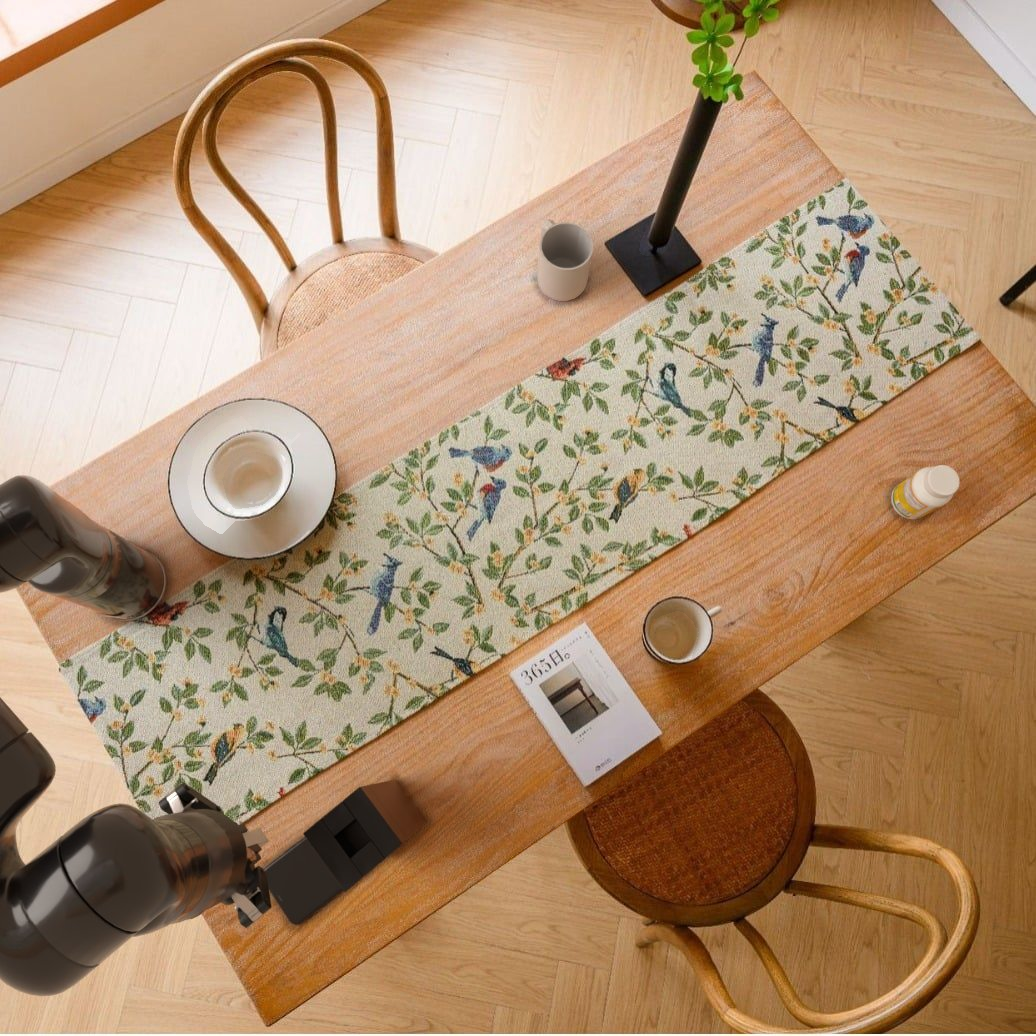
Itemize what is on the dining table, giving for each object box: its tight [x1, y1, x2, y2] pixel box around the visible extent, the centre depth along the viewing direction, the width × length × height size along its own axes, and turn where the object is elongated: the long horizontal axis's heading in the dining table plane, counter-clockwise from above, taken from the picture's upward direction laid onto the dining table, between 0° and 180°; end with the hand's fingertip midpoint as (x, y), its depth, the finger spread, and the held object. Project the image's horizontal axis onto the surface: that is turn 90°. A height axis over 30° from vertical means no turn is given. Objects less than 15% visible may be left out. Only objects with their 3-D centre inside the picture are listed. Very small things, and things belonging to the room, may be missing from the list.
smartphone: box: [263, 836, 345, 926], centre depth 110 cm, size 8×1×16 cm
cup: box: [536, 218, 594, 302], centre depth 126 cm, size 7×10×9 cm
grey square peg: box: [242, 827, 270, 848], centre depth 84 cm, size 2×2×10 cm
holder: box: [302, 779, 428, 893], centre depth 97 cm, size 6×6×30 cm
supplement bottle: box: [890, 464, 961, 520], centre depth 118 cm, size 5×5×10 cm
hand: (243, 844), depth 84 cm, fingers closed on grey square peg, 1 cm apart
